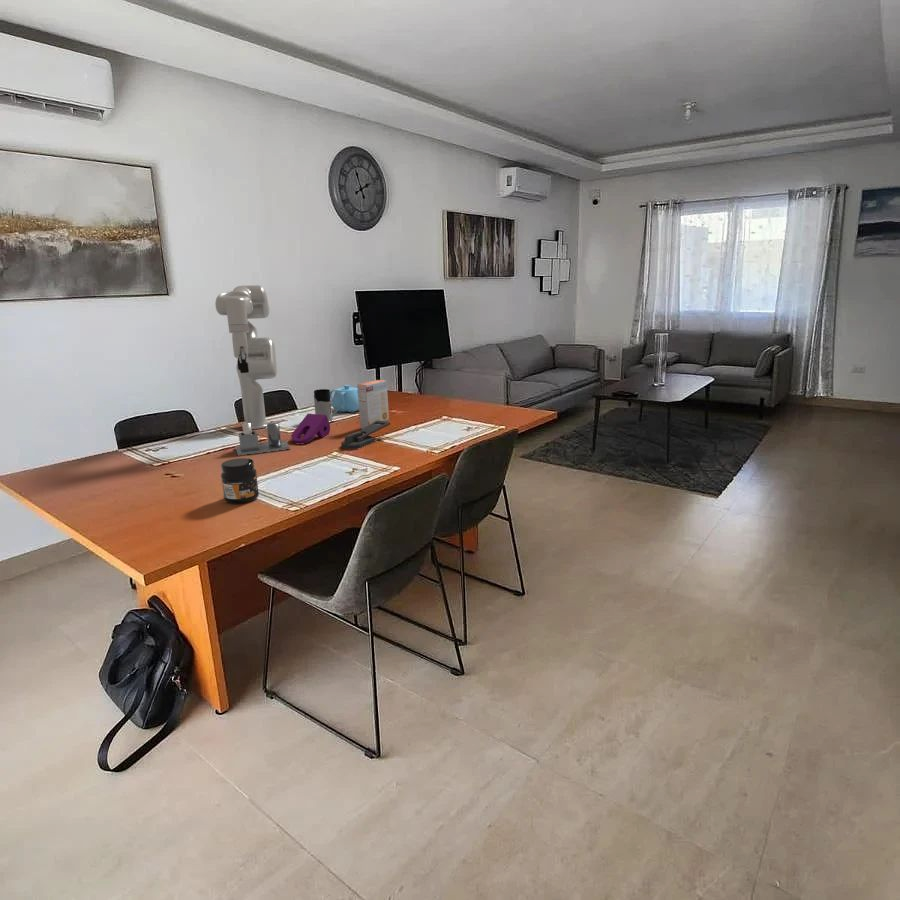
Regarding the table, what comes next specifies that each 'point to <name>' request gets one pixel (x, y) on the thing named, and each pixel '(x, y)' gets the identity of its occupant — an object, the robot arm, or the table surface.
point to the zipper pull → (363, 436)
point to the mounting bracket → (311, 428)
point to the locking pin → (247, 428)
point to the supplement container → (239, 480)
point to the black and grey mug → (324, 403)
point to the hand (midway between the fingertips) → (243, 371)
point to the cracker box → (373, 402)
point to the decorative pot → (345, 399)
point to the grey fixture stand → (252, 446)
